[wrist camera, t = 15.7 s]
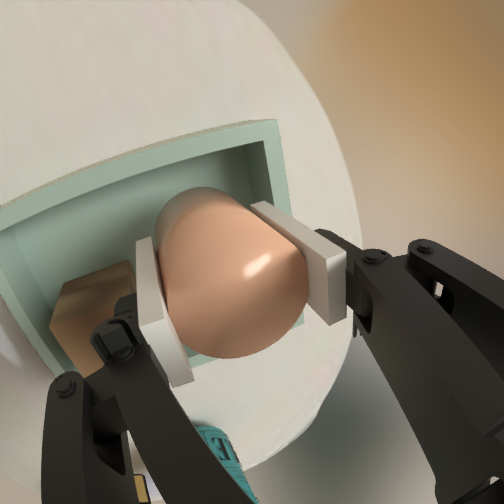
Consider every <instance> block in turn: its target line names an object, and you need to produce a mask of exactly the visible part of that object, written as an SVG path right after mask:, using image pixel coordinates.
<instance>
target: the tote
mask: <svg viewBox="0 0 504 504" xmlns="http://www.w3.org/2000/svg"><path fill="white" fill-rule="evenodd" d="M195 187H210V188H215V189H218V190H221V191H223V192H225V193H226V194H228V195H229V196H231V197H232V198H233V199H235V200H236V201H237V202H239V203H240V204H241V205H243V206H244V207H245V208H247V209H248V210H249V211H251V206H250V205H251V204H255V203H258V202H261V201H266V202H268V203H269V204H271V205H273V206H274V207H276V208H278V209H279V210H281V211H283V212H284V213H286V214H287V215H289V216H291V217H292V211H291V204H290V197H289V190H288V183H287V176H286V170H285V163H284V157H283V151H282V144H281V138H280V132H279V126H278V121H277V119H264V120H249V121H244V122H239V123H234V124H229V125H224V126H220V127H215V128H211V129H207V130H203V131H199V132H195V133H191V134H187V135H183V136H179V137H176V138H172V139H168V140H165V141H161V142H158V143H155V144H151V145H148V146H145V147H142V148H138V149H135V150H132V151H129V152H126V153H123V154H120V155H117V156H115V157H112V158H109V159H106V160H103V161H101V162H98V163H95V164H93V165H90V166H87V167H85V168H82V169H80V170H77V171H75V172H72V173H70V174H68V175H65V176H63V177H60V178H58V179H56V180H54V181H51V182H49V183H47V184H45V185H42V186H40V187H38V188H36V189H34V190H32V191H30V192H28V193H25V194H23V195H21V196H19V197H17V198H15V199H13V200H12V201H10V202H8V203H6V204H4V205H2V206H0V294H1V296H2V298H3V300H4V301H5V303H6V305H7V307H8V308H9V310H10V312H11V313H12V315H13V317H14V318H15V320H16V322H17V323H18V325H19V326H20V328H21V329H22V331H23V332H24V334H25V336H26V337H27V339H28V340H29V341H30V343H31V344H32V346H33V347H34V349H35V350H36V351H37V353H38V354H39V356H40V357H41V358H42V360H43V361H44V362H45V364H46V365H47V366H48V368H49V369H50V370H51V371H52V373H53V374H54V375H55V377H56V378H57V377H58V376H59V375H60V374H63V373H65V372H67V371H76V372H79V371H78V369H77V368H76V367H75V365H74V364H73V363H72V361H71V360H70V358H69V357H68V356H67V354H66V353H65V351H64V350H63V348H62V347H61V345H60V344H59V342H58V341H57V339H56V338H55V336H54V335H53V333H52V332H51V330H50V328H49V325H50V321H51V318H52V315H53V312H54V309H55V306H56V303H57V300H58V298H59V295H60V292H61V289H62V287H63V284H64V283H65V282H68V281H70V280H73V279H76V278H79V277H81V276H84V275H87V274H90V273H92V272H95V271H98V270H101V269H104V268H106V267H109V266H112V265H115V264H118V263H120V262H123V261H126V260H129V262H130V264H131V267H132V269H133V272H134V274H135V276H136V241H138V240H141V239H144V238H147V237H150V236H151V237H152V240H153V243H154V246H155V249H156V245H155V238H154V230H155V224H156V221H157V218H158V215H159V213H160V211H161V210H162V208H163V207H164V206H165V204H166V203H167V202H168V201H169V200H170V199H171V198H173V197H174V196H175V195H177V194H178V193H180V192H182V191H185V190H187V189H190V188H195ZM156 252H157V251H156ZM302 324H304V314H303V311H302V313H301V315H300V317H299V318H298V320H297V321H296V323H295V324H294V325H293V326H292V328H295V327H297V326H299V325H302ZM292 328H291V329H292ZM184 347H185V350H186V354H187V357H188V361H189V364H190V367H191V368H193V367H196V366H199V365H202V364H204V363H207V362H210V361H213V360H215V359H218V358H213V357H208V356H205V355H202V354H200V353H198V352H196V351H194V350H192V349H191V348H189V347H188V346H186V345H185V344H184ZM79 373H80V372H79ZM80 374H81V373H80ZM83 378H84V377H83Z"/></svg>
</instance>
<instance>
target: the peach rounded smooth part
mask: <svg viewBox="0 0 504 504" xmlns="http://www.w3.org/2000/svg"><path fill="white" fill-rule="evenodd" d="M154 238H155V245H156V251H157V257H158V262H159V268H160V273H161V279H162V284H163V289H164V294H165V299H166V304H167V308H168V313H169V317H170V319H171V321H172V324H173V326H174V328H175V330H176V333H177V335H178V337H179V339H180V340H181V341H182V342H183V343H184V344H185V345H186V346H188V347H189V348H191V349H192V350H194V351H196V352H198V353H200V354H202V355H205V356H208V357H213V358H222V359H231V358H239V357H244V356H248V355H251V354H254V353H257V352H259V351H261V350H263V349H265V348H267V347H269V346H271V345H272V344H274V343H275V342H276V341H278V340H279V339H280V338H281V337H283V336H284V335H285V334H286V333H287V332H288V331H289V330H290V329H291V328H292V326H293V325H294V324H295V323H296V321H297V320H298V318H299V317H300V315H301V313H302V311H303V309H304V307H305V304H306V302H307V298H308V294H309V279H308V269H307V263H306V261H305V259H304V257H303V255H302V254H301V252H300V251H299V250H298V249H297V248H296V247H295V246H294V245H293V244H292V243H291V242H290V241H288V240H287V239H286V238H285V237H283V236H282V235H281V234H279V233H278V232H277V231H276V230H274V229H273V228H272V227H270V226H269V225H268V224H266V223H265V222H264V221H262V220H261V219H260V218H259V217H257V216H256V215H255V214H253V213H252V212H251V211H249V210H248V209H247V208H245V207H244V206H243V205H241V204H240V203H239V202H237V201H236V200H235V199H233V198H232V197H231V196H229V195H228V194H226V193H225V192H223V191H221V190H218V189H215V188H210V187H195V188H190V189H187V190H185V191H182V192H180V193H178V194H177V195H175V196H174V197H173V198H171V199H170V200H169V201H168V202H167V203H166V204H165V206H164V207H163V208H162V210H161V211H160V213H159V215H158V218H157V221H156V224H155V230H154Z"/></svg>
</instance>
